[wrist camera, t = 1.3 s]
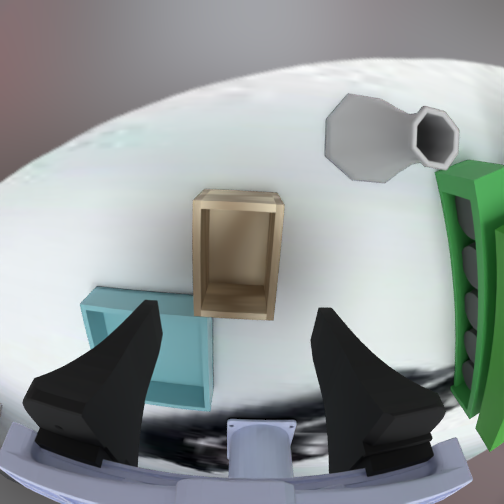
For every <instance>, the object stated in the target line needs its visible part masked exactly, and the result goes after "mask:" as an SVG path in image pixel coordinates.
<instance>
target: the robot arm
mask: <svg viewBox="0 0 504 504" xmlns="http://www.w3.org/2000/svg"><path fill="white" fill-rule="evenodd" d="M162 336H163V331H162V325H161V319H160V313H159V306H158V301H157V300H144V301H143V302H142V303H141V304H140V305H139V306H138V307H137V308H136V309H135V310H134V311H133V312H132V313H131V314H130V315H129V316H128V317H127V318H126V319H125V320H124V321H123V322H122V323H121V324H120V325H119V326H118V327H117V328H116V329H115V330H114V331H113V332H112V333H111V334H110V335H108V336H107V337H106V338H105V339H104V340H103V341H102V342H100V343H99V344H98V345H96V346H95V347H94V348H92V349H91V350H90V351H88V352H87V353H85V354H84V355H82V356H80V357H79V358H77V359H76V360H74V361H72V362H70V363H69V364H67V365H65V366H63V367H61V368H59V369H57V370H54V371H52V372H50V373H47V374H45V375H42V376H39V377H37V378H34V380H33V382H32V383H31V385H30V387H29V389H28V391H27V393H26V395H25V397H24V399H23V406H24V408H25V410H26V411H27V413H28V414H29V415H30V416H31V418H32V419H33V420H34V421H35V422H36V424H37V425H38V426H39V427H40V428H39V431H38V433H37V432H36V431H34V430H33V429H31V428H28V427H26V426H24V425H21V424H19V423H17V422H12V424H11V427H10V429H9V431H8V433H7V436H6V438H5V441H4V443H3V445H2V448H1V450H0V469H2V470H3V471H4V472H5V473H7V474H8V475H9V476H11V477H12V478H14V479H15V480H16V481H18V482H19V483H21V484H22V485H23V486H25V487H27V488H29V489H31V490H33V491H35V492H37V493H39V494H41V495H43V496H45V497H48V498H50V499H52V500H54V501H57V502H59V503H61V504H434V503H436V502H438V501H441V500H443V499H445V498H446V497H448V496H449V495H451V494H453V493H455V492H456V491H458V490H459V489H461V488H462V487H464V486H465V485H467V484H468V483H469V482H471V481H472V480H473V478H472V476H471V473H470V470H469V467H468V465H467V462H466V459H465V457H464V454H463V452H462V449H461V446H460V444H459V442H458V439H457V438H456V437H455V438H452V439H449V440H446V441H443V442H440V443H438V444H436V445H434V446H432V447H431V444H430V442H429V441H431V440H432V436H431V433H430V432H431V431H432V430H433V429H434V428H435V427H436V426H437V425H438V424H439V422H440V421H441V420H442V419H443V417H444V415H445V412H446V411H445V408H444V405H443V403H442V401H441V399H440V397H439V395H438V393H435V392H433V391H431V390H429V389H426V388H424V387H422V386H420V385H418V384H416V383H414V382H413V381H411V380H409V379H407V378H406V377H404V376H402V375H401V374H399V373H398V372H396V371H395V370H394V369H392V368H391V367H389V366H388V365H387V364H385V363H384V362H383V361H382V360H381V359H379V358H378V357H377V356H376V355H375V354H373V353H372V352H371V351H370V350H369V349H368V348H367V347H366V346H365V345H364V344H363V343H362V342H361V341H360V340H359V339H358V338H357V337H356V336H355V334H354V333H353V332H352V331H351V330H350V329H349V328H348V327H347V325H346V324H345V323H344V322H343V321H342V319H341V318H340V317H339V316H338V315H337V314H336V312H335V311H334V310H333V309H332V308H318V312H317V317H316V321H315V325H314V329H313V332H312V336H311V348H312V356H313V362H314V366H315V370H316V374H317V378H318V381H319V385H320V389H321V393H322V397H323V402H324V408H325V416H326V425H327V436H328V452H329V474H323V475H314V476H303V477H294V475H293V466H292V457H291V449H290V445H291V442H292V438H293V435H294V431H295V428H296V421H295V420H248V419H229V420H228V421H227V459H229V476H228V478H218V477H204V476H193V475H184V474H176V473H169V472H162V471H156V470H150V469H144V468H139V467H138V451H139V440H140V431H141V423H142V416H143V410H144V404H145V399H146V395H147V391H148V387H149V384H150V381H151V378H152V375H153V372H154V368H155V365H156V362H157V359H158V356H159V352H160V347H161V342H162Z"/></svg>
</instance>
